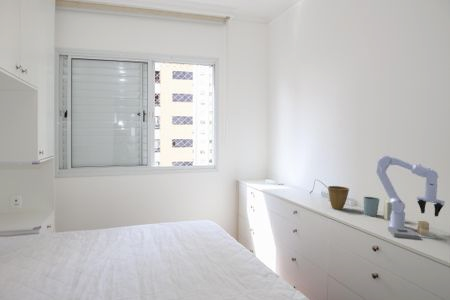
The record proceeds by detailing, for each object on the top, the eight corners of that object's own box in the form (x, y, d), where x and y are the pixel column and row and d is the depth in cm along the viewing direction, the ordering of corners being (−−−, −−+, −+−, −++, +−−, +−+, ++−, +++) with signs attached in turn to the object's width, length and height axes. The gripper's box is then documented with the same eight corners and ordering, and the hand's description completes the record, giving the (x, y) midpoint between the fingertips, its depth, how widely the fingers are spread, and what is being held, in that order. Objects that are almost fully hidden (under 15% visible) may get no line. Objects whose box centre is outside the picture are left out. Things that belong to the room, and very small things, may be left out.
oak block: (417, 233, 181) (418, 220, 181) (424, 233, 181) (425, 221, 180) (420, 235, 177) (421, 222, 177) (428, 235, 177) (429, 223, 176)
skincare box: (392, 218, 216) (393, 200, 215) (395, 220, 211) (396, 202, 211) (383, 218, 215) (384, 200, 215) (386, 220, 211) (387, 201, 210)
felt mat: (412, 232, 184) (412, 231, 184) (429, 234, 182) (429, 233, 182) (417, 237, 176) (417, 235, 176) (435, 238, 173) (435, 237, 173)
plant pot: (323, 208, 242) (324, 187, 241) (333, 205, 252) (334, 185, 251) (341, 211, 231) (342, 189, 230) (351, 209, 241) (352, 188, 240)
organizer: (388, 229, 188) (388, 226, 188) (410, 232, 185) (410, 228, 185) (394, 236, 174) (394, 233, 174) (418, 239, 171) (419, 235, 171)
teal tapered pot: (359, 213, 227) (360, 197, 226) (369, 212, 231) (370, 196, 231) (372, 217, 218) (372, 199, 217) (381, 216, 222) (382, 198, 222)
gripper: (414, 189, 189) (412, 212, 190) (440, 193, 176) (438, 218, 177) (421, 188, 192) (420, 211, 193) (447, 193, 179) (445, 217, 180)
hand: (429, 214), depth 185 cm, fingers open, 7 cm apart
